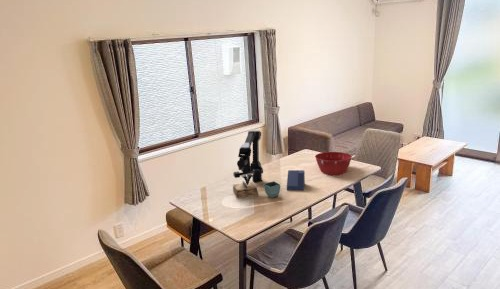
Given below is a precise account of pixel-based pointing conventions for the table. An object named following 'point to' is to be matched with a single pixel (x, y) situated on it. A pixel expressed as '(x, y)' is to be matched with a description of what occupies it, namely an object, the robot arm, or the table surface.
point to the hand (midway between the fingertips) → (247, 184)
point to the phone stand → (296, 180)
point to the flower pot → (272, 189)
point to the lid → (244, 186)
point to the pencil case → (245, 192)
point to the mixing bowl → (333, 162)
